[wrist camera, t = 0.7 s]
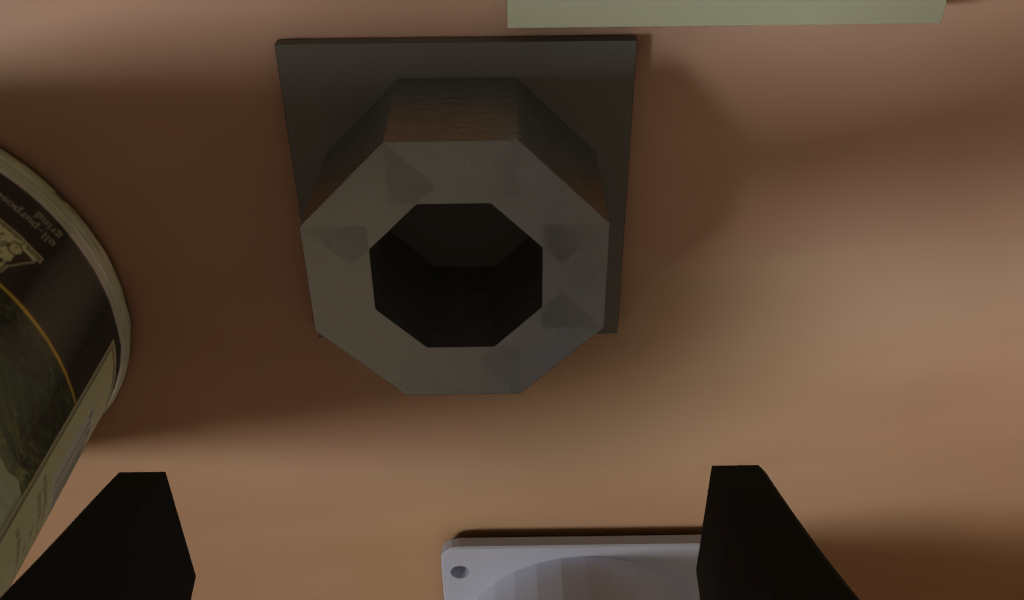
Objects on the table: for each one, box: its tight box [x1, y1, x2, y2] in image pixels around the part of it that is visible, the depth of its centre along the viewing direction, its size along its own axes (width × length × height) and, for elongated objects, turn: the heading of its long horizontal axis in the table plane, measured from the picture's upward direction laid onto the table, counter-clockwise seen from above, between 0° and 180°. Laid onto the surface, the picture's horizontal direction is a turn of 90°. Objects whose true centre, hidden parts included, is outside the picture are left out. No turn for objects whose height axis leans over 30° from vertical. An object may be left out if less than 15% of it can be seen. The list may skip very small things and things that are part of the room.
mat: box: [275, 36, 637, 337], centre depth 20 cm, size 7×7×1 cm
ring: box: [300, 77, 609, 395], centre depth 19 cm, size 6×6×3 cm
